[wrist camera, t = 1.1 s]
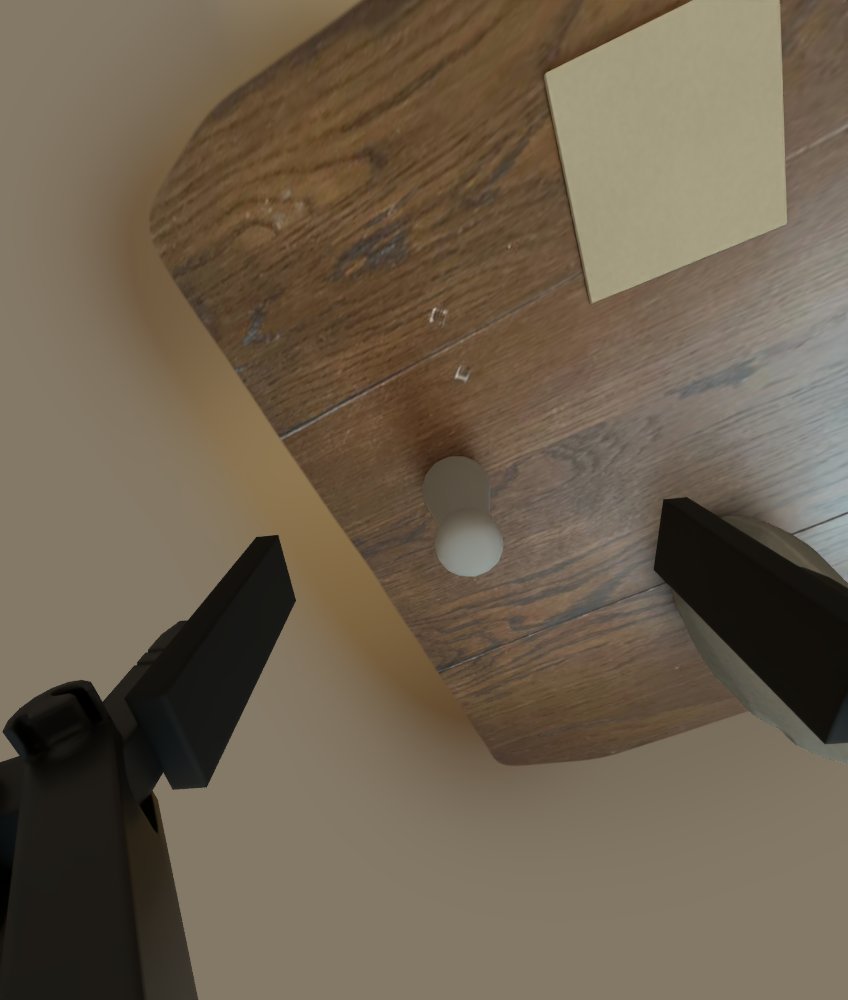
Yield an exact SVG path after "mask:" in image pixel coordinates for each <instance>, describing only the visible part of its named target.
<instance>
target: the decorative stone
mask: <svg viewBox="0 0 848 1000" xmlns="http://www.w3.org/2000/svg"><path fill="white" fill-rule="evenodd" d="M720 518H721V519H723V520H724V521H726V522H728V523H729V524H731V525H733V526H734V527H736V528H737V529H739V530H741V531H742V532H744V533H746V534H747V535H749V536H750V537H752V538H754V539H755V540H757V541H758V542H760V543H762V544H763V545H765V546H767V547H768V548H770V549H771V550H773V551H775V552H776V553H778V554H779V555H781V556H783V557H784V558H786V559H788V560H789V561H791V562H792V563H794V564H796V565H797V566H799V567H805V568H807V569H810V570H812V571H815V572H817V573H820V574H823V575H825V576H828V577H830V578H832V579H833V580H835V581H837V582H838V583H840V584H842V585H843V586H845V587H847V588H848V583H847V582H846V581H845V580H844V579H843V578H842V577H841V576H840V575H839V574H838V573H837V572H836V571H835V570H834V569H833V568H832V567H831V566H830V565H829V564H828V563H827V562H826V561H825V560H824V559H823V558H822V557H821V556H820V555H819V554H818V553H817V552H816V551H815V550H814V549H813V548H811V547H810V546H809V545H807V544H806V543H805V542H803V541H801V540H800V539H798V538H797V537H795V536H793V535H792V534H790V533H788V532H786V531H784V530H782V529H780V528H778V527H775V526H773V525H771V524H769V523H766V522H763V521H760V520H757V519H753V518H749V517H743V516H723V517H720ZM671 591H672V594H673V597H674V600H675V603H676V606H677V609H678V611H679V613H680V615H681V617H682V619H683V622H684V624H685V626H686V628H687V630H688V632H689V634H690V636H691V638H692V640H693V642H694V644H695V646H696V648H697V650H698V651H699V653H700V655H701V656H702V658H703V660H704V661H705V663H706V664H707V665H708V667H709V668H710V670H711V671H712V672H713V674H714V675H715V676H716V677H717V678H718V679H719V680H720V681H721V682H722V683H723V684H724V685H725V686H726V687H727V688H728V689H729V690H730V691H731V692H732V693H733V694H734V695H735V696H736V697H737V698H738V699H739V700H740V701H741V703H742V704H743V705H744V706H745V707H746V708H747V709H748V710H749V711H750V712H751V713H752V714H753V715H755V716H756V717H758V718H760V719H761V720H762V721H764V722H766V723H768V724H770V725H772V726H774V727H776V728H779V729H780V730H781V731H782V732H783V733H784V734H785V735H786V736H787V737H788V738H789V739H790V740H791V741H792V742H793V743H794V744H795V745H797V746H799V747H801V748H802V749H804V750H806V751H808V752H810V753H813V754H816V755H818V756H821V757H824V758H827V759H830V760H834V761H838V762H842V763H847V764H848V743H839V744H824V743H823V742H822V741H821V740H820V739H819V738H818V737H817V736H816V735H815V734H814V733H813V732H812V731H811V730H810V729H809V728H808V727H807V726H806V725H805V724H804V723H803V722H802V721H801V720H800V719H799V718H798V717H797V716H796V715H795V713H794V712H793V711H792V710H791V709H790V708H789V707H788V706H787V705H786V704H785V703H784V702H783V701H782V700H781V699H780V698H779V697H778V696H777V695H776V694H775V693H774V692H773V691H772V690H771V689H770V688H769V687H768V686H767V685H766V684H765V683H764V682H763V681H762V680H761V679H760V678H759V677H758V676H757V675H756V674H755V673H754V672H753V671H752V670H751V669H750V668H749V667H748V665H747V664H746V663H745V662H744V661H743V660H742V659H741V658H740V657H739V656H738V655H737V654H736V653H735V652H734V651H733V650H732V649H731V648H730V647H729V646H728V645H727V644H726V643H725V642H724V641H723V640H722V639H721V638H720V637H719V636H718V635H717V634H716V633H715V632H714V631H713V630H712V629H711V628H710V627H709V626H708V625H707V624H706V623H705V622H704V621H703V620H702V619H701V617H700V616H699V615H698V614H697V613H696V612H695V611H694V610H693V609H692V608H691V607H690V606H689V605H688V604H687V603H686V602H685V601H684V600H683V599H682V598H681V597H680V596H679V595H678V594H677V593H676V592H675V591H674V590H673V589H672V588H671Z"/></svg>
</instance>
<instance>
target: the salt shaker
mask: <svg viewBox="0 0 848 1000" xmlns="http://www.w3.org/2000/svg"><path fill="white" fill-rule="evenodd" d="M421 490H422V494H423V498H424V502H425V504H426V506H427V508H428V510H429V511H430V513H431V515H432V516H433V518H434V520H435V521H436V523H437V525H438V528H437V531H436V534H435V538H434V545H435V549H436V553H437V557H438V559H439V561H440V562H441V563H442V564H443V566H444V567H445V568H446V569H447V570H448V571H450V572H452V573H455V574H457V575H459V576H477V575H480V574H482V573H485V572H487V571H489V570H490V569H491V568H492V567H493V566H494V565H495V564H497V563H498V562H499V559H500V557H501V554H502V551H503V539H502V532H501V529H500V527H499V525H498V524H497V523H496V521H495V520H494V519H493V518H492V516H491V515H489V510H490V495H491V488H490V482H489V476H488V475H487V473H486V472H485V471H484V469H483V468H482V467H481V465H480V464H479V463H477V462H475V461H473V460H471V459H469V458H467V457H465V456H449V457H447V458H445V459H442V460H440V461H438V462H436V463H435V464H434V465H433V466H432V467H431V469H430V470H429V471H428V472H427V473H426V475H425V478H424V482H423V485H422V489H421Z"/></svg>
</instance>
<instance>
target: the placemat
mask: <svg viewBox="0 0 848 1000" xmlns="http://www.w3.org/2000/svg"><path fill="white" fill-rule="evenodd" d="M544 82H545V87H546V92H547V97H548V102H549V106H550V111H551V116H552V121H553V126H554V131H555V136H556V141H557V145H558V150H559V155H560V160H561V165H562V170H563V175H564V180H565V184H566V189H567V194H568V199H569V204H570V209H571V214H572V219H573V223H574V228H575V233H576V238H577V243H578V248H579V253H580V258H581V262H582V267H583V272H584V277H585V282H586V287H587V292H588V297H589V302H590V304H591V303H594V302H597V301H599V300H602V299H604V298H607V297H609V296H611V295H614V294H616V293H619V292H621V291H624V290H626V289H629V288H631V287H634V286H636V285H638V284H641V283H643V282H646V281H648V280H651V279H653V278H656V277H658V276H661V275H663V274H665V273H668V272H670V271H673V270H675V269H678V268H680V267H683V266H685V265H688V264H690V263H692V262H695V261H697V260H700V259H702V258H705V257H707V256H710V255H712V254H715V253H717V252H720V251H722V250H724V249H727V248H729V247H732V246H734V245H737V244H739V243H742V242H744V241H747V240H749V239H751V238H754V237H756V236H759V235H761V234H764V233H766V232H769V231H771V230H774V229H776V228H778V227H781V226H783V225H786V224H787V209H786V177H785V146H784V114H783V82H782V51H781V19H780V0H692V1H690V2H688V3H686V4H684V5H682V6H680V7H678V8H676V9H674V10H672V11H670V12H668V13H666V14H664V15H662V16H660V17H658V18H656V19H654V20H652V21H650V22H648V23H646V24H644V25H642V26H640V27H638V28H636V29H634V30H632V31H630V32H628V33H626V34H624V35H622V36H620V37H617V38H615V39H613V40H611V41H609V42H607V43H605V44H603V45H601V46H599V47H597V48H595V49H593V50H591V51H589V52H587V53H585V54H583V55H581V56H579V57H577V58H575V59H573V60H571V61H569V62H567V63H565V64H563V65H561V66H559V67H557V68H555V69H553V70H551V71H549V72H547V73H545V75H544Z"/></svg>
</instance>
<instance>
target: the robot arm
mask: <svg viewBox="0 0 848 1000" xmlns="http://www.w3.org/2000/svg"><path fill="white" fill-rule="evenodd" d="M654 571H655V572H656V573H657V574H658V575H659V576H660V577H661V578H662V579H663V580H664V581H665V582H666V583H667V584H668V585H669V586H670V587H671V588H672V589H673V590H674V591H675V592H676V593H677V594H678V595H679V596H680V597H681V598H682V599H683V600H684V601H685V602H686V603H687V604H688V605H689V606H690V607H691V608H692V609H693V610H694V611H695V612H696V613H697V614H698V615H699V616H700V617H701V619H702V620H703V621H704V622H705V623H706V624H707V625H708V626H709V627H710V628H711V629H712V630H713V631H714V632H715V633H716V634H717V635H718V636H719V637H720V638H721V639H722V640H723V641H724V642H725V643H726V644H727V645H728V646H729V647H730V648H731V649H732V650H733V651H734V652H735V653H736V654H737V655H738V656H739V657H740V658H741V659H742V660H743V661H744V662H745V663H746V664H747V665H748V667H749V668H750V669H751V670H752V671H753V672H754V673H755V674H756V675H757V676H758V677H759V678H760V679H761V680H762V681H763V682H764V683H765V684H766V685H767V686H768V687H769V688H770V689H771V690H772V691H773V692H774V693H775V694H776V695H777V696H778V697H779V698H780V699H781V700H782V701H783V702H784V703H785V704H786V705H787V706H788V707H789V708H790V709H791V710H792V711H793V712H794V713H795V715H796V716H797V717H798V718H799V719H800V720H801V721H802V722H803V723H804V724H805V725H806V726H807V727H808V728H809V729H810V730H811V731H812V732H813V733H814V734H815V735H816V736H817V737H818V738H819V739H820V740H821V741H822V742H823V743H824V744H839V743H848V588H847V587H845V586H843V585H842V584H840V583H838V582H837V581H835V580H833V579H832V578H830V577H828V576H825V575H823V574H820V573H817V572H815V571H812V570H810V569H807V568H805V567H799V566H797V565H796V564H794V563H792V562H791V561H789V560H788V559H786V558H784V557H783V556H781V555H779V554H778V553H776V552H775V551H773V550H771V549H770V548H768V547H767V546H765V545H763V544H762V543H760V542H758V541H757V540H755V539H754V538H752V537H750V536H749V535H747V534H746V533H744V532H742V531H741V530H739V529H737V528H736V527H734V526H733V525H731V524H729V523H728V522H726V521H724V520H723V519H721V518H720V517H718V516H716V515H715V514H713V513H712V512H710V511H708V510H707V509H705V508H703V507H702V506H700V505H699V504H697V503H695V502H694V501H692V500H691V499H689V498H687V497H684V498H673V499H663V507H662V514H661V521H660V528H659V535H658V542H657V550H656V557H655V564H654ZM295 601H296V599H295V596H294V592H293V588H292V584H291V581H290V577H289V573H288V570H287V566H286V562H285V559H284V555H283V551H282V547H281V544H280V540H279V536H278V535H273V536H264V537H256V538H255V540H254V541H253V542H252V543H251V544H250V546H249V547H248V548H247V549H246V550H245V552H244V553H243V554H242V555H241V557H240V558H239V559H238V560H237V561H236V563H235V564H234V565H233V566H232V568H231V569H230V570H229V571H228V572H227V574H226V575H225V576H224V577H223V578H222V580H221V581H220V582H219V583H218V584H217V586H216V587H215V588H214V590H213V591H212V592H211V593H210V594H209V595H208V597H207V598H206V599H205V600H204V602H203V603H202V604H201V605H200V607H199V608H198V609H197V610H196V611H195V613H194V614H193V615H192V616H191V617H190V619H189V620H188V621H179V622H178V623H177V624H175V625H174V626H172V627H171V628H170V629H168V630H167V631H166V632H164V633H163V634H162V635H161V636H160V637H159V638H158V639H157V640H156V641H155V642H154V644H153V645H152V646H151V647H150V648H149V649H148V653H145V654H144V655H143V656H142V657H141V659H140V660H139V661H138V662H137V665H136V666H134V667H133V668H132V669H131V670H130V671H129V672H128V673H127V675H126V676H125V677H124V678H123V679H122V680H121V682H120V683H119V684H118V685H117V686H116V687H115V688H114V690H113V691H112V692H111V693H110V694H109V695H108V696H107V698H106V699H105V700H104V701H103V702H102V700H101V699H100V697H99V695H98V693H97V692H96V690H95V688H94V686H93V685H92V683H91V682H88V681H84V680H79V681H73V682H67V683H65V684H62V685H59V686H56V687H54V688H52V689H50V690H48V691H46V692H44V693H42V694H40V695H38V696H37V697H35V698H33V699H32V700H31V701H29V702H28V703H27V704H25V705H24V706H23V707H21V708H20V709H19V710H18V711H17V712H16V713H15V714H14V715H13V716H12V717H11V718H10V719H9V720H8V722H7V724H6V726H5V728H4V730H3V733H4V735H5V736H6V737H7V739H8V740H9V741H10V743H11V744H12V746H13V747H14V748H15V750H16V751H17V753H18V754H19V755H20V756H18V757H15V758H12V759H9V760H6V761H3V762H0V1000H198V997H197V992H196V987H195V982H194V977H193V972H192V967H191V962H190V957H189V952H188V947H187V942H186V937H185V932H184V928H183V922H182V917H181V913H180V908H179V903H178V898H177V893H176V888H175V883H174V878H173V873H172V868H171V863H170V859H169V854H168V849H167V843H166V839H165V834H164V829H163V824H162V819H161V814H160V809H159V804H158V800H157V798H156V796H155V794H154V793H153V791H152V790H153V788H154V787H155V785H156V783H157V782H158V780H159V778H160V777H161V775H162V773H163V772H164V774H165V776H166V778H167V780H168V782H169V784H170V785H171V787H172V789H173V790H174V789H188V788H202V787H207V785H208V783H209V781H210V779H211V777H212V775H213V773H214V771H215V769H216V766H217V764H218V763H219V760H220V758H221V756H222V754H223V752H224V750H225V748H226V746H227V744H228V742H229V739H230V737H231V735H232V733H233V731H234V729H235V727H236V725H237V723H238V721H239V719H240V716H241V714H242V712H243V710H244V708H245V706H246V704H247V702H248V700H249V697H250V695H251V693H252V691H253V689H254V687H255V685H256V683H257V681H258V679H259V677H260V674H261V673H262V670H263V668H264V666H265V664H266V662H267V660H268V658H269V656H270V654H271V652H272V650H273V647H274V645H275V643H276V641H277V639H278V637H279V635H280V633H281V631H282V629H283V626H284V624H285V622H286V620H287V618H288V616H289V614H290V612H291V610H292V608H293V606H294V603H295Z"/></svg>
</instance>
